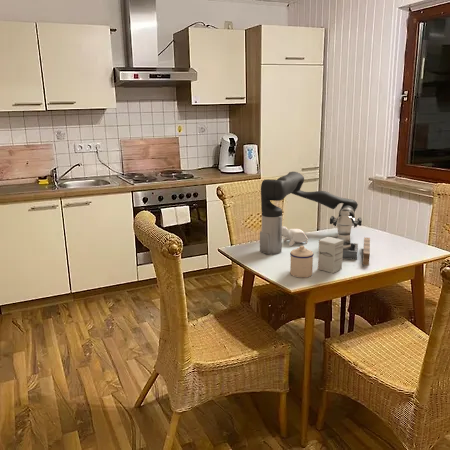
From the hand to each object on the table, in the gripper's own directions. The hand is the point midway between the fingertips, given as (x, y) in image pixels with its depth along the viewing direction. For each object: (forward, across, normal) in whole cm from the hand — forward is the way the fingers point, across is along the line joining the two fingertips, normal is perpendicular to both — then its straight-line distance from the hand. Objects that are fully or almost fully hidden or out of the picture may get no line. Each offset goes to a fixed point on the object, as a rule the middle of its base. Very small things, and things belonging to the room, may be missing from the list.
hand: (344, 224), depth 203 cm
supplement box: (+26, -4, +13) cm, 29 cm away
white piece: (-7, -25, +13) cm, 29 cm away
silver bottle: (+4, 0, +13) cm, 13 cm away
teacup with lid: (+33, -16, +13) cm, 39 cm away
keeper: (+4, 0, +12) cm, 13 cm away
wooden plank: (+4, +10, +12) cm, 17 cm away
